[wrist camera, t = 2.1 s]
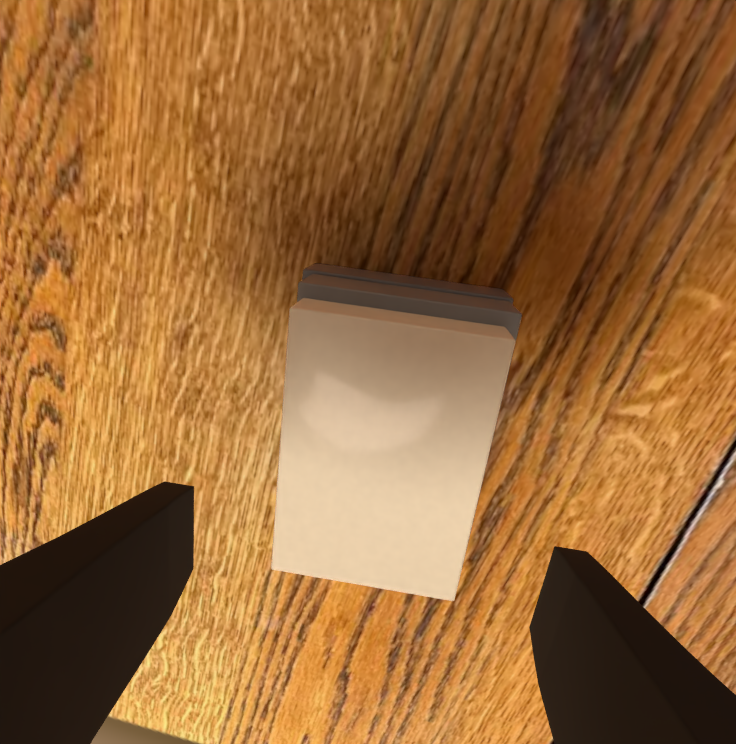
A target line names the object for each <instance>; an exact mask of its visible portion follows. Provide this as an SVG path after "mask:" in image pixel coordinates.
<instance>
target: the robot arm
mask: <svg viewBox="0 0 736 744" xmlns="http://www.w3.org/2000/svg"><path fill="white" fill-rule="evenodd" d="M193 548H194V486H188V485H182V484H176V483H170V482H163V483H161V484H158V485H156V486H154V487H152V488H150V489H148V490H146V491H144V492H143V493H141V494H139V495H137V496H135V497H133V498H131V499H129V500H128V501H126V502H124V503H122V504H120V505H118V506H116V507H115V508H113V509H111V510H109V511H107V512H105V513H103V514H101V515H100V516H98V517H96V518H94V519H92V520H90V521H88V522H86V523H84V524H82V525H81V526H79V527H77V528H75V529H73V530H71V531H69V532H67V533H65V534H63V535H62V536H60V537H58V538H55V539H53V540H51V541H49V542H47V543H45V544H43V545H41V546H39V547H37V548H35V549H33V550H31V551H29V552H27V553H24V554H22V555H20V556H18V557H16V558H14V559H12V560H10V561H8V562H6V563H4V564H2V565H0V744H90V743H91V742H92V740H93V738H94V736H95V735H96V733H97V732H98V730H99V729H100V727H101V726H102V724H103V723H104V721H105V719H106V718H107V716H108V715H109V713H110V712H111V710H112V708H113V707H114V705H115V704H116V702H117V701H118V699H119V697H120V696H121V694H122V693H123V691H124V690H125V688H126V686H127V685H128V683H129V682H130V680H131V679H132V677H133V675H134V674H135V672H136V671H137V669H138V668H139V666H140V664H141V663H142V661H143V660H144V658H145V657H146V655H147V653H148V652H149V650H150V649H151V647H152V645H153V644H154V642H155V641H156V639H157V637H158V636H159V634H160V633H161V631H162V629H163V628H164V626H165V624H166V623H167V621H168V620H169V618H170V616H171V614H172V612H173V610H174V608H175V606H176V604H177V602H178V600H179V598H180V596H181V594H182V592H183V590H184V588H185V585H186V583H187V581H188V579H189V577H190V575H191V573H192V570H193ZM530 633H531V640H532V647H533V654H534V661H535V666H536V672H537V678H538V684H539V688H540V692H541V695H542V699H543V703H544V706H545V710H546V714H547V717H548V721H549V725H550V728H551V732H552V736H553V739H554V743H555V744H736V695H735V694H734V693H733V692H732V691H730V690H729V689H728V688H727V687H726V686H725V685H724V684H723V683H722V682H721V681H719V680H718V679H717V678H716V677H715V676H714V675H713V674H712V673H711V672H710V671H708V670H707V669H706V668H705V667H704V666H703V665H702V664H701V663H700V662H699V661H698V660H697V659H696V658H695V657H694V656H693V655H692V654H690V653H689V652H688V651H687V650H686V649H685V648H684V647H683V646H682V645H681V644H680V643H679V642H678V641H677V640H676V639H675V638H674V637H673V636H672V635H671V634H670V633H669V632H668V631H667V630H666V629H665V628H664V627H663V626H662V625H661V624H660V623H659V622H658V621H657V620H656V619H655V618H654V617H653V616H652V615H651V614H650V613H649V612H648V611H647V610H646V609H645V608H644V607H643V606H642V605H641V604H640V603H639V602H638V601H637V600H636V599H635V598H634V597H633V596H632V595H631V594H630V593H629V592H628V591H627V590H626V589H625V588H624V587H623V586H622V585H621V584H620V583H619V582H618V581H617V580H616V579H615V578H614V577H613V576H612V575H611V574H610V573H609V572H608V571H607V570H606V569H605V568H604V567H603V566H602V565H601V564H600V563H599V562H597V561H596V560H595V559H594V558H593V557H592V556H591V555H590V554H589V553H588V552H586V551H580V550H574V549H568V548H562V547H556V546H555V547H554V550H553V553H552V557H551V560H550V563H549V566H548V570H547V573H546V576H545V579H544V582H543V586H542V589H541V592H540V595H539V599H538V602H537V605H536V608H535V611H534V615H533V618H532V621H531V624H530Z"/></svg>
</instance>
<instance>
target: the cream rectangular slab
mask: <svg viewBox="0 0 736 744" xmlns="http://www.w3.org/2000/svg"><path fill="white" fill-rule="evenodd" d="M514 346H515V339H514V338H513V337H512V335H511V334H510V333H509V331H508V330H507V329H506V328H505V327H503V326H496V325H489V324H482V323H475V322H468V321H461V320H454V319H447V318H440V317H433V316H426V315H419V314H412V313H405V312H398V311H391V310H385V309H378V308H371V307H364V306H357V305H350V304H343V303H336V302H329V301H322V300H315V299H308V298H302V299H301V300H300V301H298V302H297V303H296V304H294V305H293V306H292V307H290V310H289V324H288V338H287V352H286V366H285V381H284V395H283V409H282V423H281V437H280V451H279V465H278V479H277V494H276V508H275V522H274V536H273V550H272V564H271V568H272V569H273V570H278V571H284V572H289V573H295V574H301V575H307V576H312V577H318V578H324V579H329V580H335V581H341V582H347V583H352V584H358V585H364V586H369V587H375V588H381V589H387V590H392V591H398V592H404V593H409V594H415V595H421V596H426V597H432V598H438V599H444V600H449V601H454V599H455V595H456V591H457V587H458V583H459V579H460V574H461V570H462V566H463V562H464V557H465V553H466V549H467V545H468V540H469V536H470V532H471V528H472V524H473V519H474V515H475V511H476V507H477V502H478V498H479V494H480V490H481V486H482V481H483V477H484V473H485V469H486V464H487V460H488V456H489V452H490V447H491V443H492V439H493V435H494V431H495V426H496V422H497V418H498V414H499V409H500V405H501V401H502V397H503V392H504V388H505V384H506V380H507V376H508V371H509V367H510V363H511V359H512V354H513V350H514Z"/></svg>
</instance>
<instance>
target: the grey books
mask: <svg viewBox="0 0 736 744" xmlns="http://www.w3.org/2000/svg"><path fill="white" fill-rule="evenodd" d="M302 298H308V299H315V300H322V301H329V302H336V303H343V304H350V305H357V306H364V307H371V308H378V309H385V310H391V311H398V312H405V313H412V314H419V315H426V316H433V317H440V318H447V319H454V320H461V321H468V322H475V323H482V324H489V325H496V326H503V327H505V328H506V329H507V330H508V331H509V333H510V334H511V335H512V337H513V338H514V339H515V343H516V339H517V334H518V330H519V326H520V322H521V317H522V314H521V313H520V312H519V311H518V310H517V309H516V308H515V307H514V306H513V298H512V297H511V296H510V295H509V294H508V293H506V292H505V291H504V290H503V289H498V288H491V287H484V286H477V285H470V284H462V283H455V282H448V281H441V280H434V279H427V278H419V277H412V276H405V275H398V274H391V273H384V272H376V271H369V270H362V269H355V268H348V267H341V266H334V265H326V264H319V263H315V264H313V265H311V266H309V267H307V268H305V269H304V270H303V277H302V281H300V282H299V283H298V295H297V302H298V301H300V300H301V299H302ZM514 347H515V346H514ZM513 351H514V350H513ZM512 355H513V354H512ZM511 360H512V359H511ZM510 364H511V363H510ZM509 368H510V367H509ZM508 372H509V371H508ZM507 377H508V376H507ZM506 381H507V380H506ZM505 385H506V384H505ZM504 389H505V388H504ZM503 393H504V392H503ZM502 398H503V397H502ZM501 402H502V401H501ZM500 406H501V405H500ZM499 410H500V409H499ZM498 415H499V414H498ZM497 419H498V418H497ZM496 423H497V422H496ZM495 427H496V426H495ZM493 436H494V435H493ZM492 440H493V439H492ZM491 444H492V443H491ZM490 448H491V447H490ZM489 453H490V452H489ZM488 457H489V456H488ZM487 461H488V460H487ZM486 465H487V464H486ZM485 470H486V469H485ZM484 474H485V473H484ZM483 478H484V477H483ZM482 482H483V481H482ZM480 491H481V490H480ZM479 495H480V494H479ZM478 499H479V498H478ZM477 503H478V502H477ZM476 508H477V507H476ZM475 512H476V511H475ZM474 516H475V515H474ZM473 520H474V519H473ZM471 529H472V528H471ZM470 533H471V532H470ZM469 537H470V536H469ZM468 541H469V540H468ZM467 546H468V545H467ZM466 550H467V549H466ZM465 554H466V553H465ZM464 558H465V557H464ZM462 567H463V566H462Z"/></svg>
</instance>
